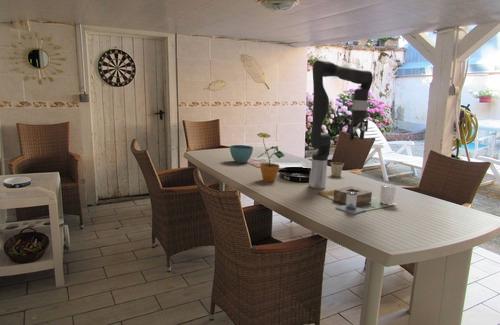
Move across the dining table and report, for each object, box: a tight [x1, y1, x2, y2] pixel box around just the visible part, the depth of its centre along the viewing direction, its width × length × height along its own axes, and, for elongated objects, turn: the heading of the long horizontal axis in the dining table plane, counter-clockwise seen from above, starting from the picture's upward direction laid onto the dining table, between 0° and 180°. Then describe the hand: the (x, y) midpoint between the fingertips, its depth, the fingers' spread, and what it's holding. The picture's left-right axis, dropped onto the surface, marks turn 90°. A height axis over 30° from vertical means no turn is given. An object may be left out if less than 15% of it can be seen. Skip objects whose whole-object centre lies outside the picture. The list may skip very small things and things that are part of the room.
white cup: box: [379, 183, 397, 205], centre depth 204 cm, size 8×8×10 cm
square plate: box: [267, 159, 309, 172], centre depth 285 cm, size 27×27×4 cm
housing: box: [332, 185, 373, 207], centre depth 205 cm, size 14×14×6 cm
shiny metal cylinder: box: [345, 192, 357, 210], centre depth 190 cm, size 5×5×8 cm
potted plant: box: [256, 132, 286, 183], centre depth 241 cm, size 18×19×30 cm
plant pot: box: [229, 144, 254, 164], centre depth 299 cm, size 18×18×12 cm
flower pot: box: [330, 161, 345, 177], centre depth 266 cm, size 9×9×9 cm
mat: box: [335, 204, 367, 216], centre depth 190 cm, size 11×10×1 cm
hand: (356, 139), depth 203 cm, fingers open, 8 cm apart
